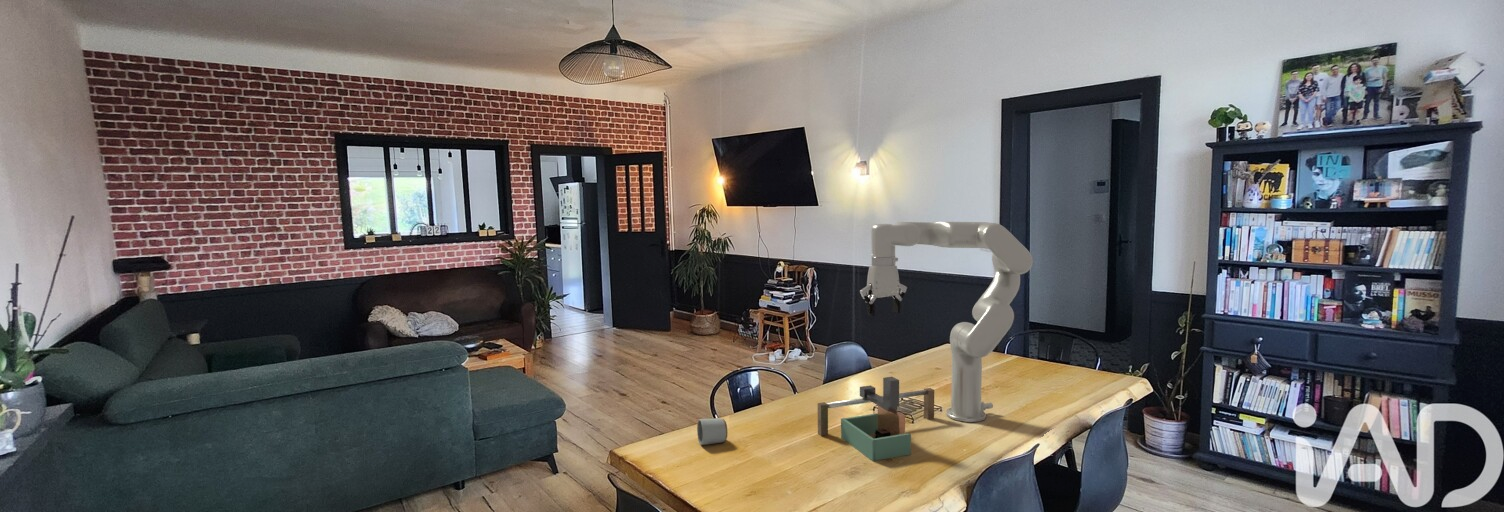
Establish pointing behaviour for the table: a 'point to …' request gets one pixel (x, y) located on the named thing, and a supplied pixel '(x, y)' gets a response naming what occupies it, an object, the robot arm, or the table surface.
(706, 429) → the ceramic mug
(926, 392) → the rod rail
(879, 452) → the box
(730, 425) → the table surface
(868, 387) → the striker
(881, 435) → the black block
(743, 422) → the table surface
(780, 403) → the table surface
